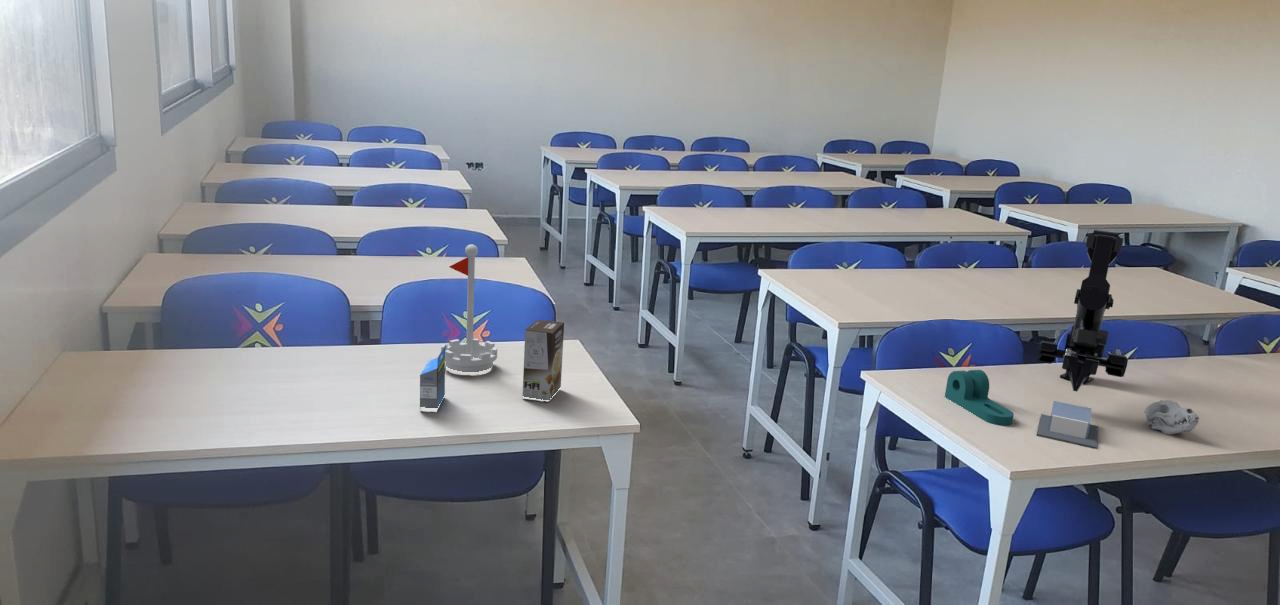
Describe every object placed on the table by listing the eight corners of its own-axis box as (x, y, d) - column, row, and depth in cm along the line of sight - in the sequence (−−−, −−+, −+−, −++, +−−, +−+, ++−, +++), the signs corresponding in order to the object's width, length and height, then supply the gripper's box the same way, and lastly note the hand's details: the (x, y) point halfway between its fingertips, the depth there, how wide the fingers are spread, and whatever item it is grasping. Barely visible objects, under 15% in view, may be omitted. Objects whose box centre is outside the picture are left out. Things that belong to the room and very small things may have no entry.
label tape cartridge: (427, 396, 202) (427, 342, 199) (445, 397, 202) (446, 343, 199) (419, 412, 194) (419, 355, 190) (437, 413, 194) (438, 357, 191)
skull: (1158, 407, 220) (1198, 388, 210) (1171, 443, 216) (1212, 426, 206) (1131, 407, 217) (1171, 387, 207) (1144, 443, 214) (1185, 425, 203)
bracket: (944, 397, 225) (949, 367, 222) (967, 396, 227) (973, 365, 225) (993, 427, 208) (999, 394, 206) (1018, 425, 210) (1024, 392, 208)
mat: (1040, 415, 217) (1041, 413, 217) (1097, 427, 212) (1097, 425, 212) (1036, 435, 205) (1036, 433, 204) (1096, 448, 200) (1096, 447, 199)
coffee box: (549, 403, 203) (552, 333, 199) (521, 399, 204) (524, 329, 200) (561, 389, 212) (564, 321, 208) (534, 385, 213) (537, 318, 209)
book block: (1053, 400, 216) (1050, 415, 206) (1091, 408, 212) (1090, 423, 203) (1050, 415, 216) (1047, 430, 207) (1088, 423, 213) (1087, 439, 203)
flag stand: (488, 357, 230) (492, 238, 222) (503, 375, 218) (507, 250, 210) (435, 361, 224) (437, 239, 216) (447, 379, 213) (449, 251, 205)
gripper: (1046, 307, 216) (1034, 365, 210) (1135, 322, 209) (1126, 382, 202) (1042, 331, 225) (1030, 387, 219) (1128, 347, 218) (1118, 405, 211)
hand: (1075, 390), depth 212 cm, fingers closed
